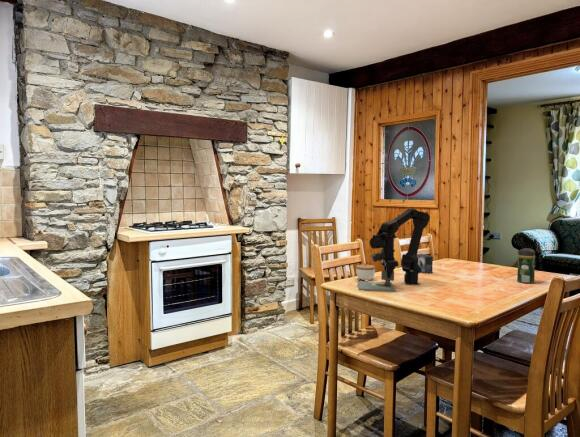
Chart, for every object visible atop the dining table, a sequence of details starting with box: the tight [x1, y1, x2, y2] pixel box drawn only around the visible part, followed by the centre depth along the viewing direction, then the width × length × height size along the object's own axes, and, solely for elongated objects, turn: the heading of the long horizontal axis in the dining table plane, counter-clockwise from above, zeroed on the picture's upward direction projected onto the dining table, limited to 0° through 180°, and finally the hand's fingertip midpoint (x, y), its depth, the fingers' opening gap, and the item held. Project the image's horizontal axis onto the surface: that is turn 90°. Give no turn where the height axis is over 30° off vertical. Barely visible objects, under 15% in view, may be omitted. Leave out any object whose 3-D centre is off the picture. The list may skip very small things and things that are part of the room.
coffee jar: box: [516, 247, 536, 284], centre depth 227 cm, size 10×8×19 cm
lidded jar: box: [355, 262, 376, 281], centre depth 233 cm, size 11×11×9 cm
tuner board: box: [356, 280, 397, 293], centre depth 215 cm, size 18×18×1 cm
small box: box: [417, 253, 434, 275], centre depth 257 cm, size 11×6×10 cm, turn 25°
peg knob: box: [368, 269, 395, 286], centre depth 215 cm, size 13×4×7 cm, turn 63°
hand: (387, 277), depth 214 cm, fingers closed on peg knob, 3 cm apart
